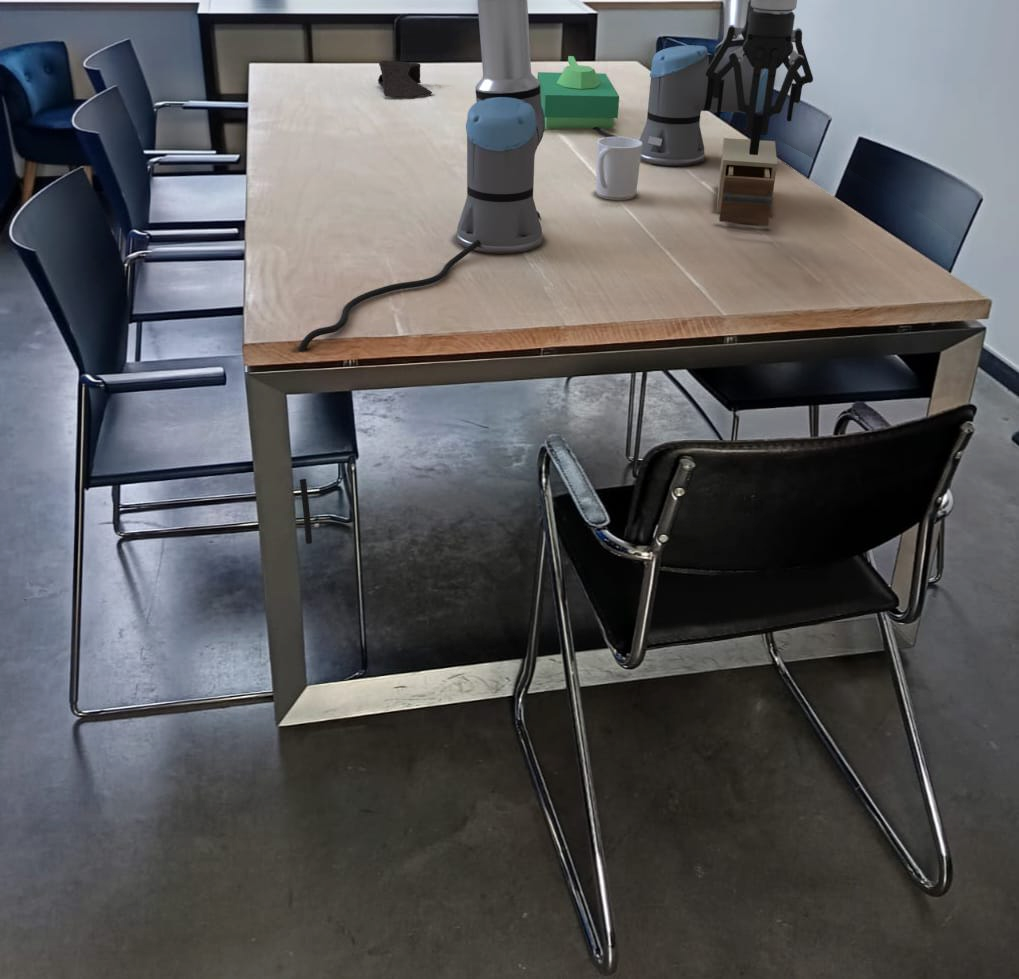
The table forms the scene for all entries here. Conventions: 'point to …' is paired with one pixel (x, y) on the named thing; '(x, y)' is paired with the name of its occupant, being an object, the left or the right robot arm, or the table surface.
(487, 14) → the left robot arm
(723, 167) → the cabinet
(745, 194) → the drawer
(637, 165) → the mug
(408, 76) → the axe head
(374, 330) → the table surface
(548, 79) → the toy tank
